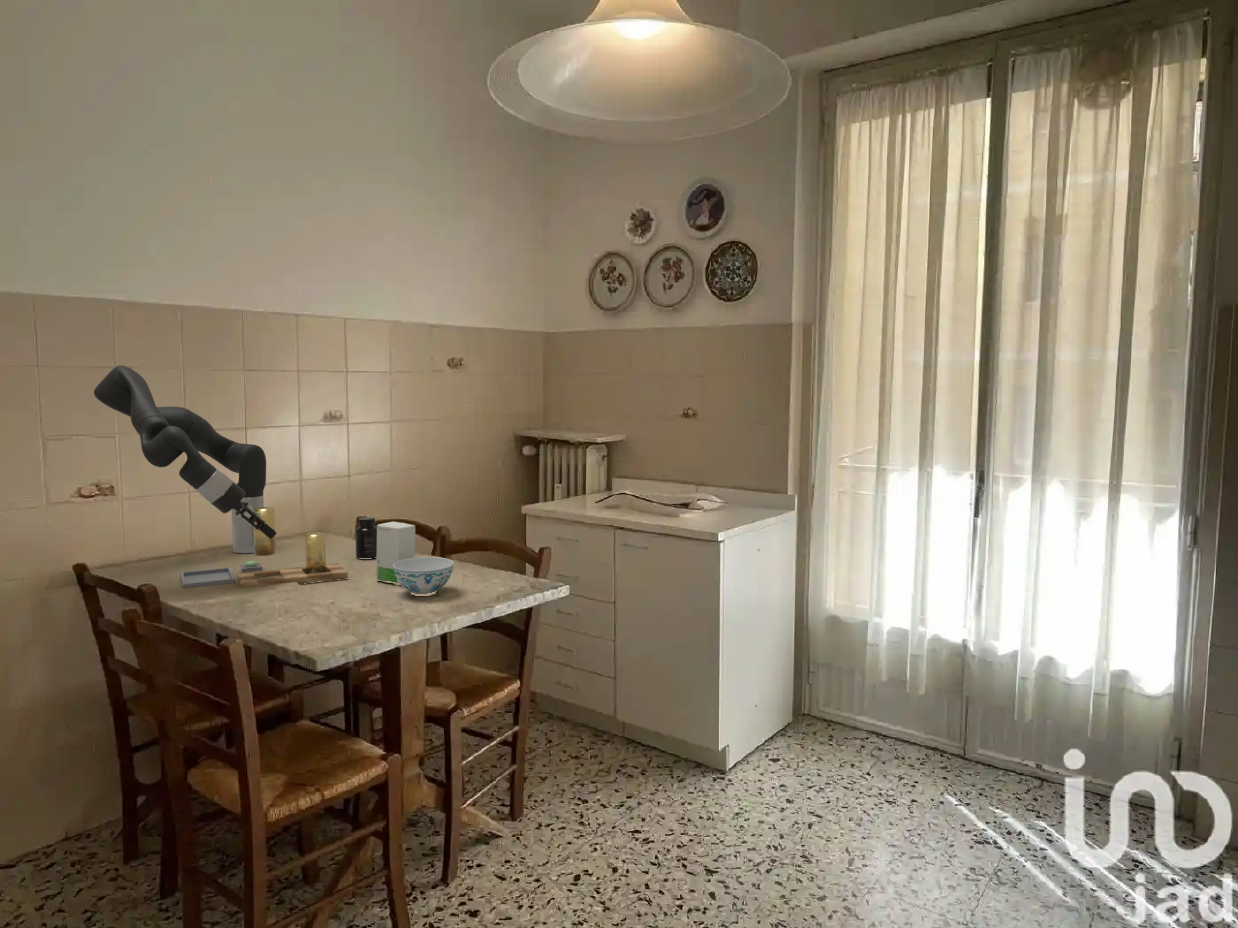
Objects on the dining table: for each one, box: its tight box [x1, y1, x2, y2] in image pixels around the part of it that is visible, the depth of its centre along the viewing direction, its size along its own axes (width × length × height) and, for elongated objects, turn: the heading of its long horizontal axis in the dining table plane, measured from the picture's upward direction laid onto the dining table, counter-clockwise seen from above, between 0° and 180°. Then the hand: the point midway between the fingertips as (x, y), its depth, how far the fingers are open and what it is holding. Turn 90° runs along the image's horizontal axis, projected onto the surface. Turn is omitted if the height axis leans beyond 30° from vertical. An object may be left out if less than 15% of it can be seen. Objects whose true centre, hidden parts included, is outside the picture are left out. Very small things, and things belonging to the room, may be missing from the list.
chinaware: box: [393, 556, 455, 594], centre depth 208 cm, size 15×15×8 cm
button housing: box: [239, 562, 263, 573], centre depth 225 cm, size 5×5×2 cm
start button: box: [244, 560, 258, 567], centre depth 224 cm, size 3×3×1 cm
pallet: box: [236, 562, 349, 588], centre depth 220 cm, size 12×26×2 cm, turn 120°
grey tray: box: [180, 567, 236, 589], centre depth 216 cm, size 14×12×2 cm
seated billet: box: [304, 531, 327, 574], centre depth 222 cm, size 5×5×12 cm
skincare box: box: [375, 521, 416, 583], centre depth 219 cm, size 8×7×16 cm
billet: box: [254, 506, 276, 557], centre depth 215 cm, size 5×5×12 cm
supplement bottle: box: [354, 516, 377, 559], centre depth 247 cm, size 7×7×12 cm
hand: (272, 533), depth 216 cm, fingers closed on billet, 5 cm apart
